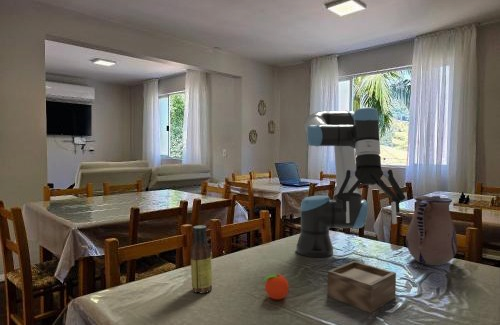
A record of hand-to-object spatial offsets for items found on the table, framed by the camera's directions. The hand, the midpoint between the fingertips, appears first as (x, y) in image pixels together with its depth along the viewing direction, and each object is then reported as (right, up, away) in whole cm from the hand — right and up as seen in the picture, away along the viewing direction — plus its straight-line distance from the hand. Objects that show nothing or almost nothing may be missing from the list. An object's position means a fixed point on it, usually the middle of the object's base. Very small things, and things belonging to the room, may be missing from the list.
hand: (370, 223), depth 106 cm
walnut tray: (-4, -21, -3) cm, 22 cm away
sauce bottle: (-52, -21, +1) cm, 56 cm away
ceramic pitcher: (+31, -20, +26) cm, 46 cm away
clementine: (-30, -21, -4) cm, 37 cm away
